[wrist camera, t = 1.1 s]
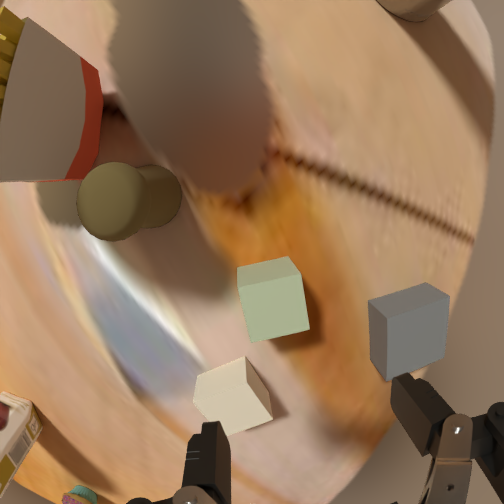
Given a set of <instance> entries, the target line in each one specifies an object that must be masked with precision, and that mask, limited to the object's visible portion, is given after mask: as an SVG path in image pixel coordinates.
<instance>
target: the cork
mask: <svg viewBox="0 0 504 504" xmlns="http://www.w3.org/2000/svg"><path fill="white" fill-rule="evenodd" d="M181 198H182V194H181V187H180V184H179V182H178V180H177V178H176V176H175V175H174V174H173V173H172V172H171V171H170V170H168V169H166V168H164V167H162V166H158V165H147V166H143V167H138V168H134V167H132V166H130V165H128V164H126V163H120V162H109V163H105V164H101V165H99V166H97V167H96V168H94V169H93V170H92V171H90V172H89V173H88V174H87V175H86V177H85V178H84V179H83V181H82V183H81V185H80V188H79V190H78V194H77V203H76V205H77V211H78V216H79V218H80V220H81V222H82V225H83V226H84V227H85V229H86V230H87V231H88V232H89V233H90V234H91V235H93V236H95V237H96V238H98V239H101V240H106V241H112V242H114V241H119V240H124V239H126V238H128V237H130V236H131V235H133V234H135V233H137V231H138V230H139V229H140V228H154V227H160V226H162V225H164V224H166V223H168V222H169V221H170V220H171V219H172V218H173V217H174V216H175V215H176V213H177V211H178V209H179V207H180V204H181Z"/></svg>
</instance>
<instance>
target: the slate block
mask: <svg viewBox="0 0 504 504" xmlns="http://www.w3.org/2000/svg"><path fill="white" fill-rule="evenodd" d="M449 301H450V296H449V295H447V294H446V293H444V292H442V291H440V290H439V289H437V288H435V287H433V286H432V285H430V284H428V283H423V284H420V285H417V286H414V287H411V288H408V289H404V290H401V291H398V292H395V293H392V294H388V295H385V296H382V297H378V298H375V299H372V300H368V313H369V334H370V360H371V361H372V363H373V364H374V366H375V367H376V368H377V370H378V371H379V372H380V374H381V375H382V376H383V378H384V379H385V381H386V382H387V381H389V380H392V379H393V377H396V376H399V375H401V374H404V373H406V372H408V373H410V372H412V371H415V370H417V369H419V368H422V367H424V366H426V365H429V364H431V363H433V362H435V361H437V360H440V359H441V358H444V354H445V346H446V337H447V328H448V316H449Z"/></svg>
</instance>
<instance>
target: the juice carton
mask: <svg viewBox="0 0 504 504" xmlns="http://www.w3.org/2000/svg"><path fill="white" fill-rule="evenodd" d="M42 429H43V426H42V424H41V422H40V419H39V417H38V415H37V413H36V411H35V409H34V406H33V404H32V402H31V401H29V400H27V399H24V398H21V397H18V396H15V395H13V394H11V393H9V392H6V391H3V392H2V393H1V394H0V498H1V497H2V495H3V494H4V492H5V491H6V489H7V487H8V485H9V484H10V482H11V480H12V479H13V477H14V475H15V474H16V472H17V470H18V468H19V467H20V465H21V463H22V462H23V460H24V459H25V457H26V455H27V454H28V452H29V451H30V449H31V447H32V446H33V444H34V443H35V441H36V439H37V438H38V436H39V435H40V433H41V431H42Z"/></svg>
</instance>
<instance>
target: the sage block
mask: <svg viewBox="0 0 504 504" xmlns="http://www.w3.org/2000/svg"><path fill="white" fill-rule="evenodd" d="M237 288H238V292H239V296H240V300H241V304H242V308H243V313H244V317H245V321H246V325H247V329H248V333H249V337H250V341H251V343H253V342H257V341H262V340H267V339H271V338H276V337H280V336H285V335H289V334H293V333H298V332H302V331H306V330H310V328H309V321H308V314H307V308H306V302H305V295H304V289H303V283H302V277H301V273H300V272H299V270H298V269H297V268H296V266H295V265H294V264H293V262H292V261H291V260H290V258H289V257H288V256H287V257H283V258H278V259H273V260H269V261H264V262H260V263H255V264H251V265H246V266H241V267H237Z"/></svg>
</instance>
